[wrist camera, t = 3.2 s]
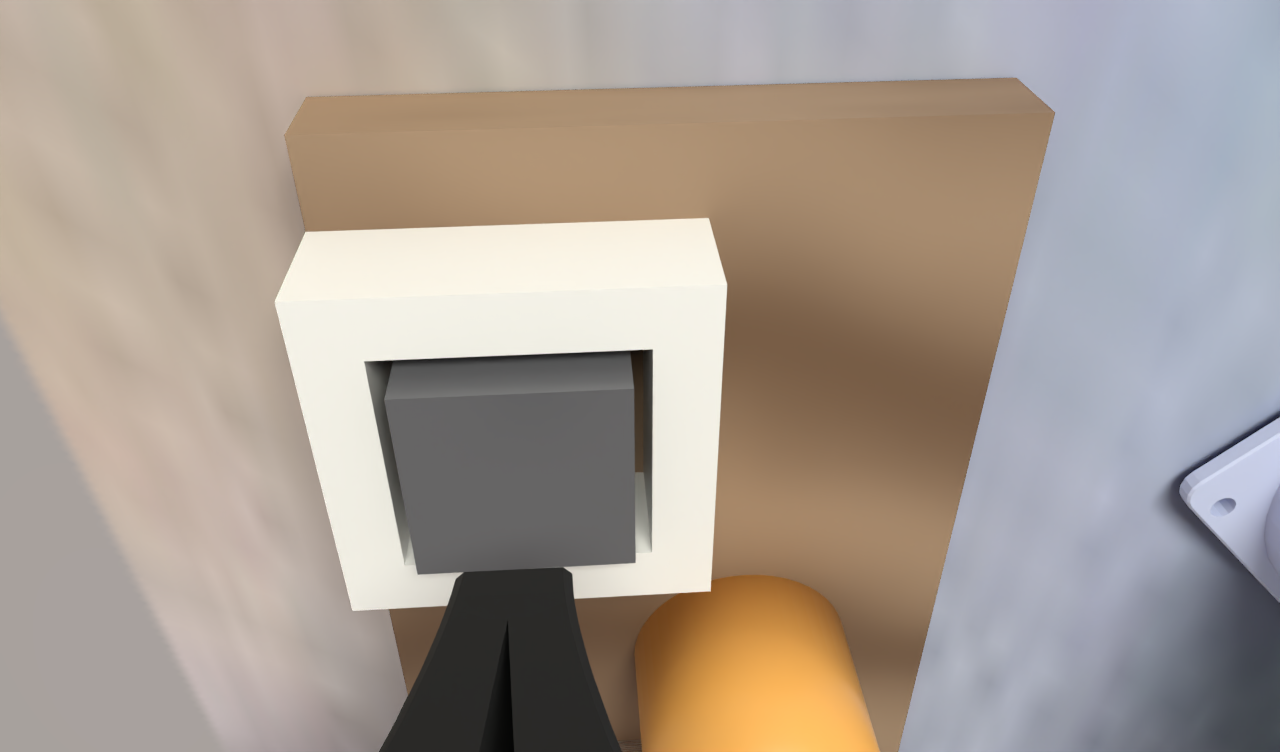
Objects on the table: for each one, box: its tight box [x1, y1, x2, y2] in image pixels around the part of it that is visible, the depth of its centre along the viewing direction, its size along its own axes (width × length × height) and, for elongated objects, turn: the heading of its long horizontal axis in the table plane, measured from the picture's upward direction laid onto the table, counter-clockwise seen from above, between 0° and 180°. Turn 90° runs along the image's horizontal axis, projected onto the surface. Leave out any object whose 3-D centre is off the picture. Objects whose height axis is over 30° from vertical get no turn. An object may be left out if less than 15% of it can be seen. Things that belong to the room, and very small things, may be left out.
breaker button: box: [384, 350, 636, 575], centre depth 16 cm, size 3×3×2 cm
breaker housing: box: [275, 218, 727, 611], centre depth 16 cm, size 6×6×2 cm
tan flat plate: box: [284, 78, 1055, 752], centre depth 21 cm, size 23×11×2 cm, turn 0°
